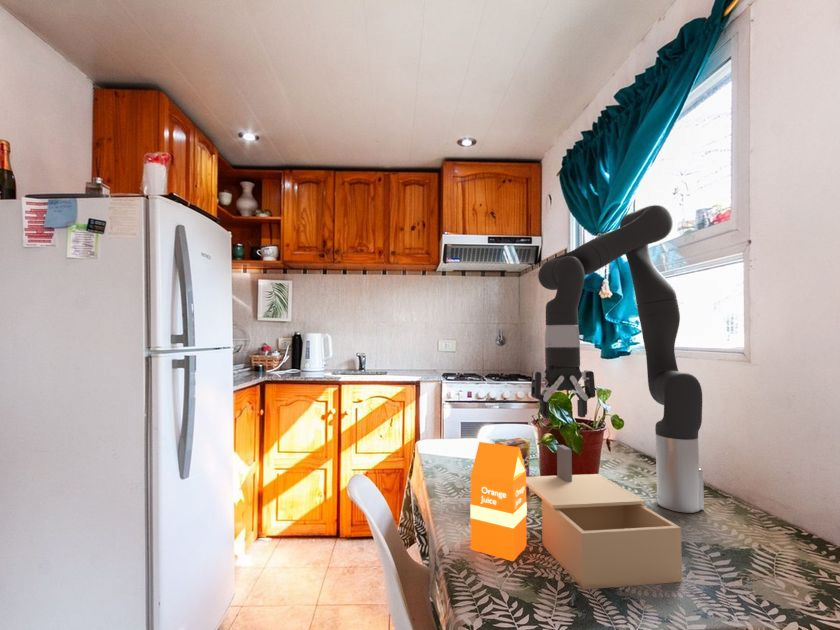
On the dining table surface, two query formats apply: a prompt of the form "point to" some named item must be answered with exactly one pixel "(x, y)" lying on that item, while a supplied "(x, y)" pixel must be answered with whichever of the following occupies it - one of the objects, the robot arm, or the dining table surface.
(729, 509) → the dining table surface
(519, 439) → the candy box
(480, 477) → the orange juice
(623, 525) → the carton
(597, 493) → the carton lid
